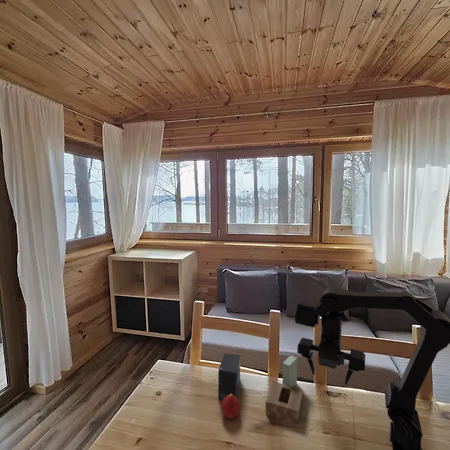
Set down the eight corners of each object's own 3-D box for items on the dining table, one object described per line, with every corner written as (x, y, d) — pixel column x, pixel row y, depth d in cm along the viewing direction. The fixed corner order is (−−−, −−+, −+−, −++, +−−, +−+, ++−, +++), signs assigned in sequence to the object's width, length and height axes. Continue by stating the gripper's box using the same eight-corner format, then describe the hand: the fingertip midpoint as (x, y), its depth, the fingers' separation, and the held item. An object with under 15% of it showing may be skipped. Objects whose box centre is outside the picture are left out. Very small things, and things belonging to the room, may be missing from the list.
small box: (236, 401, 90) (236, 372, 89) (217, 398, 92) (217, 370, 91) (240, 380, 101) (240, 354, 100) (224, 378, 102) (223, 352, 101)
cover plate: (296, 386, 97) (297, 357, 96) (288, 395, 93) (289, 365, 92) (290, 383, 99) (290, 355, 98) (282, 392, 94) (282, 362, 93)
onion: (217, 416, 84) (217, 393, 83) (231, 407, 88) (230, 384, 87) (230, 428, 80) (230, 403, 79) (243, 418, 83) (243, 394, 83)
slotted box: (302, 403, 89) (302, 389, 89) (298, 426, 80) (298, 411, 80) (272, 394, 93) (273, 381, 93) (265, 416, 84) (265, 401, 84)
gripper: (293, 335, 78) (292, 385, 79) (365, 352, 69) (363, 408, 70) (301, 319, 87) (300, 364, 89) (366, 333, 78) (364, 382, 80)
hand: (329, 379), depth 82 cm, fingers open, 9 cm apart
